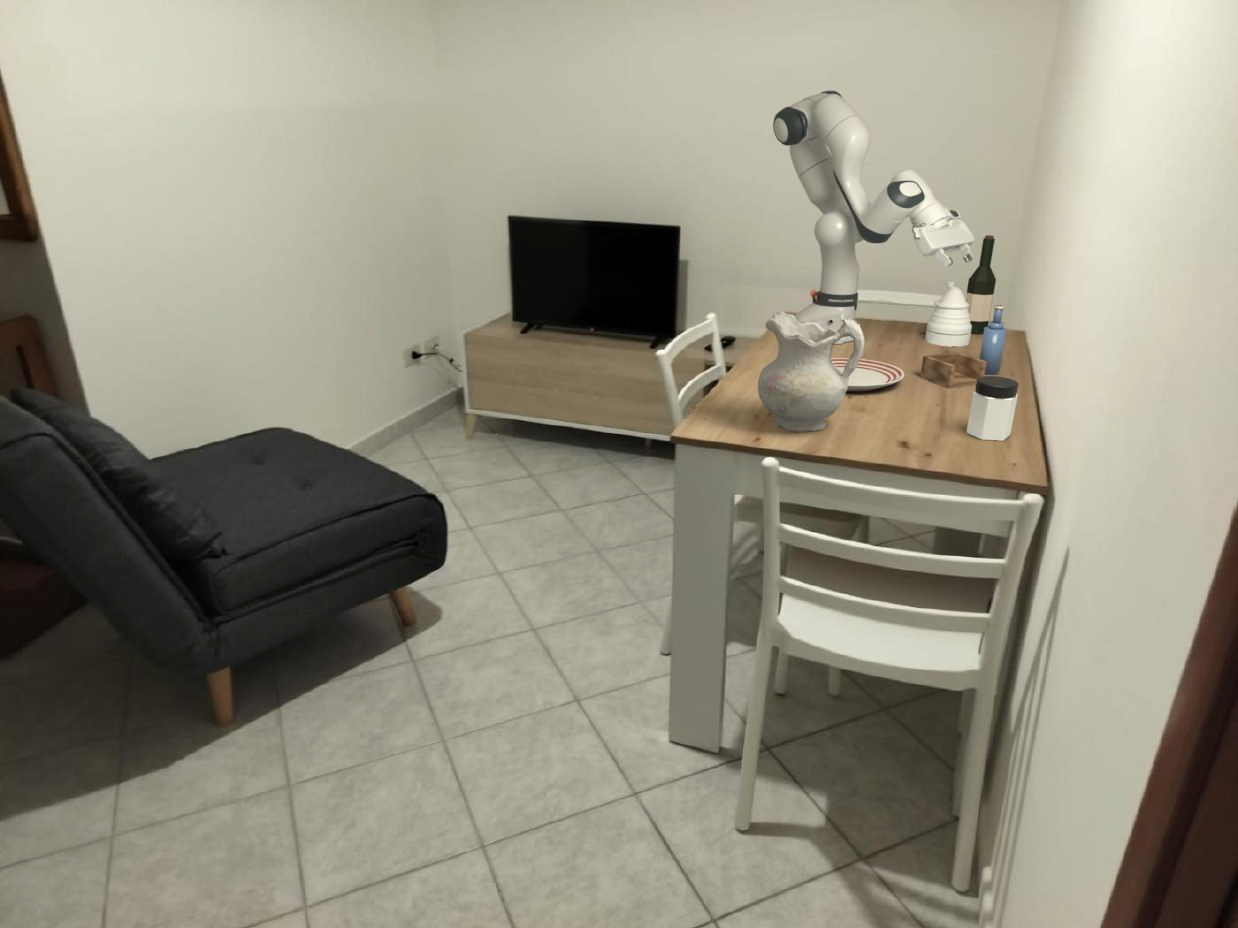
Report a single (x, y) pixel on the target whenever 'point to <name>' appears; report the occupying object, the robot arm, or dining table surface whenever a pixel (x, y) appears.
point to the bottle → (993, 342)
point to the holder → (952, 369)
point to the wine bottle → (981, 289)
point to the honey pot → (950, 319)
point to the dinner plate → (869, 374)
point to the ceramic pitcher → (806, 372)
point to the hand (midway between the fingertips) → (960, 262)
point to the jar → (992, 408)
